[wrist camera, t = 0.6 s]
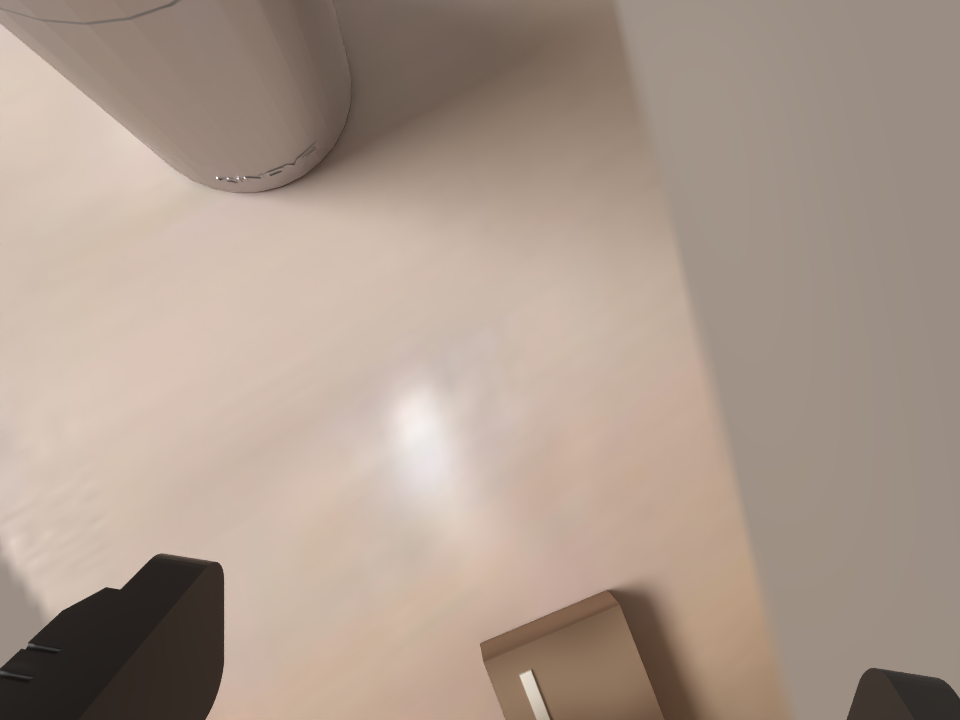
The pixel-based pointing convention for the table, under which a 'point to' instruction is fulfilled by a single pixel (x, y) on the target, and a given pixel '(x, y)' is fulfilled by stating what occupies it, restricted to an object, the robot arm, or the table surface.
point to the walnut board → (572, 667)
